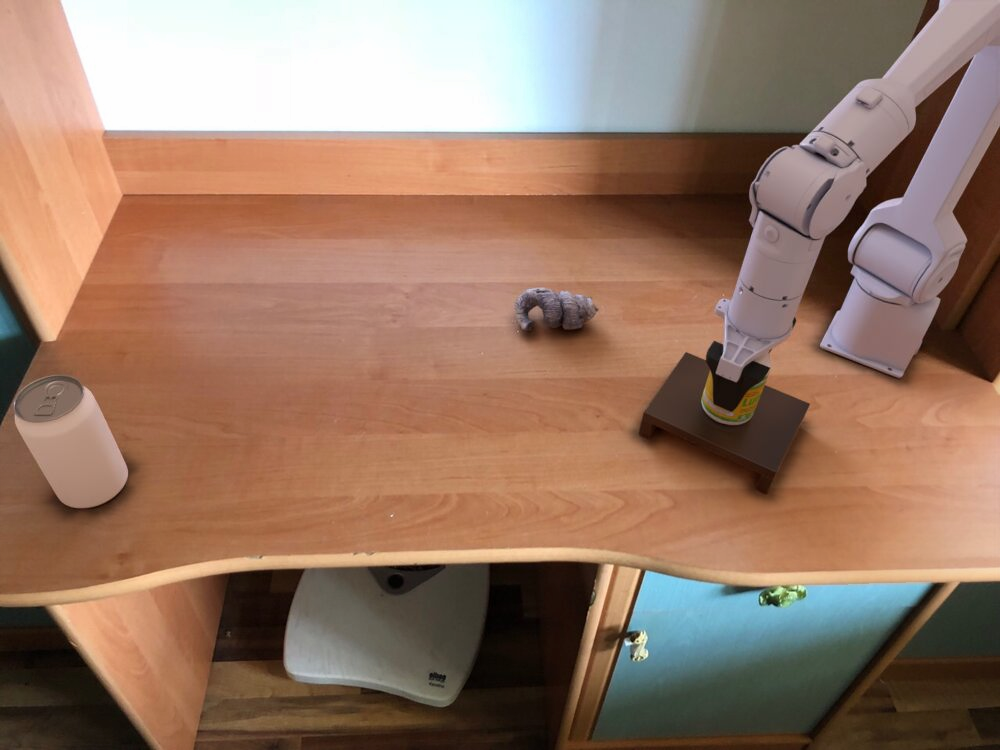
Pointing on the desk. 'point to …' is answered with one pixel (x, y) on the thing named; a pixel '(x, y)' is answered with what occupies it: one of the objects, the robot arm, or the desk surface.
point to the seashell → (555, 308)
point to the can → (70, 440)
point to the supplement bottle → (744, 407)
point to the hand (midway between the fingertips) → (734, 388)
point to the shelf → (745, 443)
